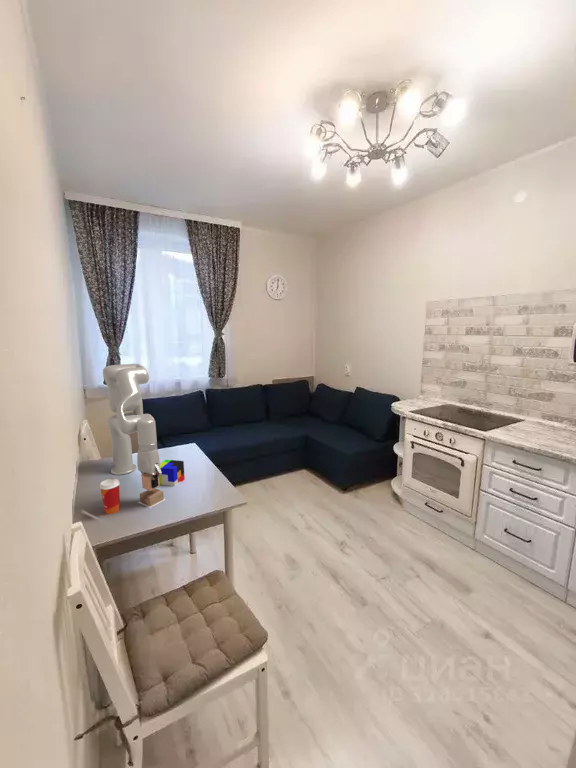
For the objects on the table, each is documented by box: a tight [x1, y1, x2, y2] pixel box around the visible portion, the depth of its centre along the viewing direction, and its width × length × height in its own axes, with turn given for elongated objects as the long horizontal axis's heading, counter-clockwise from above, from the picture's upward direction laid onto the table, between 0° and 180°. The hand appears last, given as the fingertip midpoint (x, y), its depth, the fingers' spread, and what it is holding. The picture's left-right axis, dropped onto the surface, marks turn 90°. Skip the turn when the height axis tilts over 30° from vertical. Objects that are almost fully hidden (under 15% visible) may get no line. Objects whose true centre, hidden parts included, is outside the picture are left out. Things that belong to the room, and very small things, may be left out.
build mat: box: [137, 498, 167, 509], centre depth 158 cm, size 16×12×1 cm
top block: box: [141, 473, 160, 491], centre depth 154 cm, size 5×5×6 cm
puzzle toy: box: [159, 459, 186, 487], centre depth 175 cm, size 10×10×10 cm
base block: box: [139, 488, 165, 507], centre depth 156 cm, size 7×7×4 cm
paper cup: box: [98, 478, 121, 515], centre depth 147 cm, size 8×8×14 cm
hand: (150, 485), depth 155 cm, fingers closed on top block, 5 cm apart
